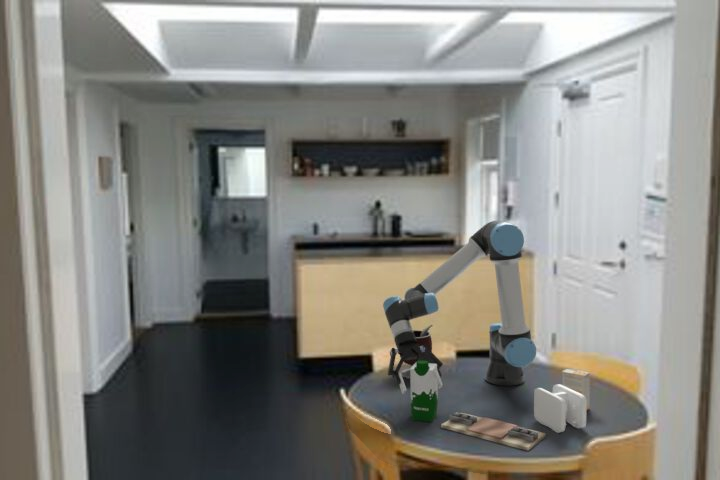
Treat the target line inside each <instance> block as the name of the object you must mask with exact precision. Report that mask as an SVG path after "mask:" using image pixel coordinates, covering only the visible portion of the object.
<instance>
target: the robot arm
mask: <svg viewBox="0 0 720 480" xmlns="http://www.w3.org/2000/svg"><path fill="white" fill-rule="evenodd" d="M524 238H525V237H524V234H523V232H522V230H521V229H520V228H519V227H518V226H517V225H515V224H513V223H512V222H509V221H502V220H491V221H489V222H487V223H486V224H484V225H482V227H481V228H480V229H478V230H477V231H476V232H475V233H474V234H473V235H470V237H469V238H468V242H467V243H466V244H465V245H463V247H461V248H459V250H458V251H456V252H455V253H454V254H453V255H452V256H451V257H449V258H448V259H446V261H444V262H443V263H442V264H441V265H440V266H438V267H437V268H436V269H435V270H434V271H433V272H431V273H430V274H429V275H428V276H426V278H424V279H423V280H421V281H420V282H419V283H418V284H417V285H415V286H414V287H411V288H408V289H407V290H406V291H405V293H404V299H402V297H401V296H399V295H398V296H397V295H396V296H395V295H393V296H390V297H388V298H386V299H385V300H384V301H383V304H382V307H383V310H384V314H385V317H386V320H387V323H388V326H389V328H390V331H391V335H392V338H393V340H394V343H395V346H396V348H395V347H392V348H391V349H390V351H389V355H390V360H389V364H388V370H387V376H392V378H394V381H395V384H396V385H399V388H400V391H401V393H402V395H405V394H406V392H407V387H406V384H405V381H404V379H403V378H404V377H403V376H402V375H401V372H400V370H401V368H402V366H403V364H404V360H405V359H406V360H415V359H417V360H426V361H428V362H429V363H432V364H437V374H438V376H437V382H438V389H441V388H442V387H443V382H442V379H441V378H442V373H441V370H440V369H441V368H442V367H443V364H444V363H443V362H442V361H441V360H440V359H439V358H438V357H437V356H436V355H435V353H433V351H432V352H431V351H430V350H429V349H428V347H427V345H426V344H424V345H423V346H419V345H418V344H417V340H416V337H415V335H414V333H413V330H414V329H413V327H412V324H411V322H410V321H411V320H414V319H417V318H421V317H424V316H427V315H431V314H434V313H437V312H438V311H439V303H438V300H437V298H436V296H437V294H439V293H440V292H441V291H442V290H444V289H445V288H446V287H447V286H448V285H450V283H452V282H454V280H455V279H457V278H458V277H459V276H460V275H461V274H464V272H465V271H466V270H468V269H469V268H470V267H471V266H472V265H474V264H475V263H476V262H477V261H478V260H480V259H481V258H486V257H488V255H489V261H491V263H493V264H494V270H495V278H496V285H497V286H496V287H497V296H498V303H499V311H500V319H501V321H500V322H497V323H492V324H490V326H489V331H488V332H489V361H488V365H487V368H486V371H485V375H484V376H485V377H484V380H485V381H486V382H487V383H489V384H493V385H496V386H505V387H506V386H507V387H508V386H509V387H512V386H518V385H519V386H520V385H521V384H523V383H525V373H524V372H523V368H524V367H528V366H529V365H531V364H532V363H533V361H534V360H535V358H536V355H537V346H536V344H535V342H534V341H533V340H532V334H531V333H532V332H531V328H530V326H528V325H527V324H526V318H525V317H526V316H525V310H524V301H523V300H524V299H523V293H522V292H523V291H522V284H521V272H520V264H519V262H520V260H521V259H522V257H523V256H522V249H523V247H524V245H525V244H524V243H525V239H524ZM420 350H421V351H422V352H423V353H424V354H425V355H426V356H427V357H428V358H427V357H426V356H425V355H423V353H422V352H420ZM397 354H398V355H399V357H400V356H402V357H401V358H400V359H399V361H398V364H397V366H396V367H394V366H395V363H396V362H395V361H396V356H397ZM418 354H419V355H420V356H418ZM394 368H395V370H394Z"/></svg>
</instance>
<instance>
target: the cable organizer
mask: <svg viewBox="0 0 720 480" xmlns="http://www.w3.org/2000/svg"><path fill="white" fill-rule="evenodd" d="M533 394H534V395H533V416H534V419H535V420H536V422H539V424H541V425H543V426H545V427H548V428H550V429H551V431H553V432H555V433H557V434H559V433H562V432H563V433H564V432H565V430H566V426H567V425H568V424H570V425H571V426H572V427H574V428H576V429H578V430H579V429H583V428H585V427H586V426H587V411H586V398H585V396H584V395H582V394H581V393H578V392H576V391H574V390H572V389H570V388H567V387H565V386H563V385H562V383H561V384H560V383H559V384H558V383H557V384H554V385H553V386H552V392H551V391H548V390H547V389H545V388H543V387H536V388H535V389H534V391H533ZM567 423H568V424H567Z"/></svg>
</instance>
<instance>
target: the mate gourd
mask: <svg viewBox="0 0 720 480" xmlns="http://www.w3.org/2000/svg"><path fill="white" fill-rule="evenodd" d="M431 327H433V324H430V325H428V326H426V327H425V328H424V329H422V330H420V329H419V330H418V329H417V330H416V329H413V333H414V335H415V337H416V340H417V344H418V345H419V346H423V345H424V344H426V345H427V347H428V349H429V350H430V351H431V352H432V353H433V342H432V341H433V340H432V337H431V335H432V334H431V332H429V330H430V328H431ZM420 352H422V351H421V350H420ZM422 353H423V352H422ZM423 355H425V354H424V353H423ZM418 356H420V355H419V354H418ZM425 356H426V355H425ZM401 357H402V356H400V355H399V358H400V359H401ZM426 357H427V356H426ZM427 358H428V357H427ZM417 361H419V360H417V359H415V360H406V359H405V360H404V362H403V364H404V363H405V364H407V365H409V366H411V367H412V366H413V364H415V363H416V362H417ZM400 373H401V375H402V377H403V378H405V377H406V379H410V368H405V369H403V370H401V371H400Z"/></svg>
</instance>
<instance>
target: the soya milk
mask: <svg viewBox="0 0 720 480" xmlns="http://www.w3.org/2000/svg"><path fill="white" fill-rule="evenodd" d="M409 369H410V378H409V379H410V381H409V382H410V411H411V412H410V413H411V420H412V421H418V422H419V421H420V422H421V421H422V422H428V423H429V422H430V423H432V422H433V421H434V419H435V418H436V416H437V414H438V413H437V411H438V403H439V402H438V400H439V399H438V396H439V395H438V382H437V376H438V374H437V364H432V363H429V362H428V361H426V360H419V361H417V362H416V363H415V364H413V366H411V367H410V368H409Z"/></svg>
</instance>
